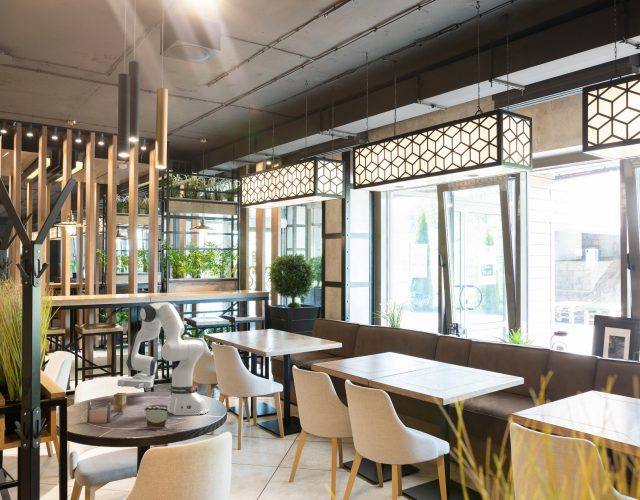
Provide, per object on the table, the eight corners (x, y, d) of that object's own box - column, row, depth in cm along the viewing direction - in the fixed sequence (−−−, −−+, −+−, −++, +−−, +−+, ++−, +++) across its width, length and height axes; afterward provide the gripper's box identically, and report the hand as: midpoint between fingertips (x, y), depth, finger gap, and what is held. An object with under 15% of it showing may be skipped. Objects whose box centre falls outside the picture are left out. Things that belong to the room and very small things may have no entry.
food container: (172, 424, 279) (172, 404, 280) (167, 428, 273) (168, 407, 274) (148, 423, 281) (149, 403, 281) (143, 426, 274) (144, 406, 275)
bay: (123, 414, 298) (124, 395, 298) (109, 423, 280) (109, 403, 281) (102, 413, 299) (103, 394, 299) (86, 422, 281) (87, 402, 282)
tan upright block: (125, 409, 308) (126, 393, 309) (122, 411, 304) (122, 395, 304) (117, 409, 309) (117, 392, 309) (113, 411, 304) (113, 394, 304)
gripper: (123, 374, 335) (112, 379, 321) (156, 376, 333) (147, 381, 320) (122, 385, 335) (112, 390, 321) (155, 386, 333) (146, 392, 320)
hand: (130, 385), depth 320 cm, fingers open, 8 cm apart
